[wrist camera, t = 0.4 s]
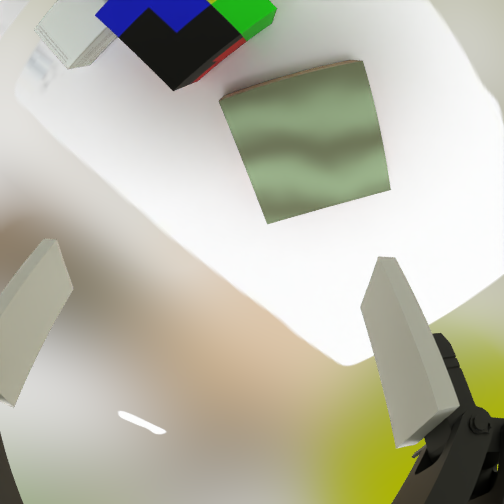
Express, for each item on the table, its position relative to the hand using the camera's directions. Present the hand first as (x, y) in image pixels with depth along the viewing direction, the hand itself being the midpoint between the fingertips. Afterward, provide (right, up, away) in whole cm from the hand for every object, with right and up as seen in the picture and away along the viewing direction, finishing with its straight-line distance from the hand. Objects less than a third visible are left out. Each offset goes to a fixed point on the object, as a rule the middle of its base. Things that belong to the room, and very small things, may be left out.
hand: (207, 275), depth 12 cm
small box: (-16, +26, +12) cm, 33 cm away
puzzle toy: (-3, +25, +13) cm, 28 cm away
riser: (+8, +14, +20) cm, 26 cm away
